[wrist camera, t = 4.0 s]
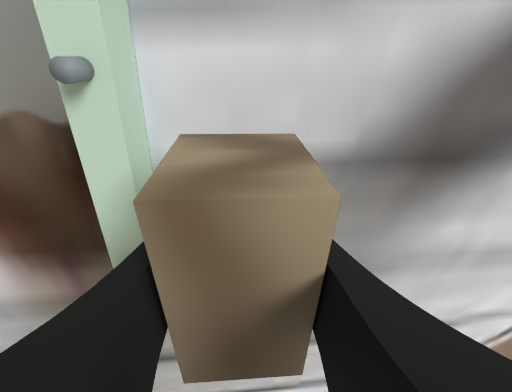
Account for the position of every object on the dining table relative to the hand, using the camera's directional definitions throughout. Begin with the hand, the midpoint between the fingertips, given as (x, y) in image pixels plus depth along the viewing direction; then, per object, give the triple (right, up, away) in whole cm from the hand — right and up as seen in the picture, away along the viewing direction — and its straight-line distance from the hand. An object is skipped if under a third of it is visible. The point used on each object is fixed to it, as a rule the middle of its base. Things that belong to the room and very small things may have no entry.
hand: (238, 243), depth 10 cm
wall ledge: (-8, +4, +7) cm, 11 cm away
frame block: (0, +1, +2) cm, 2 cm away
